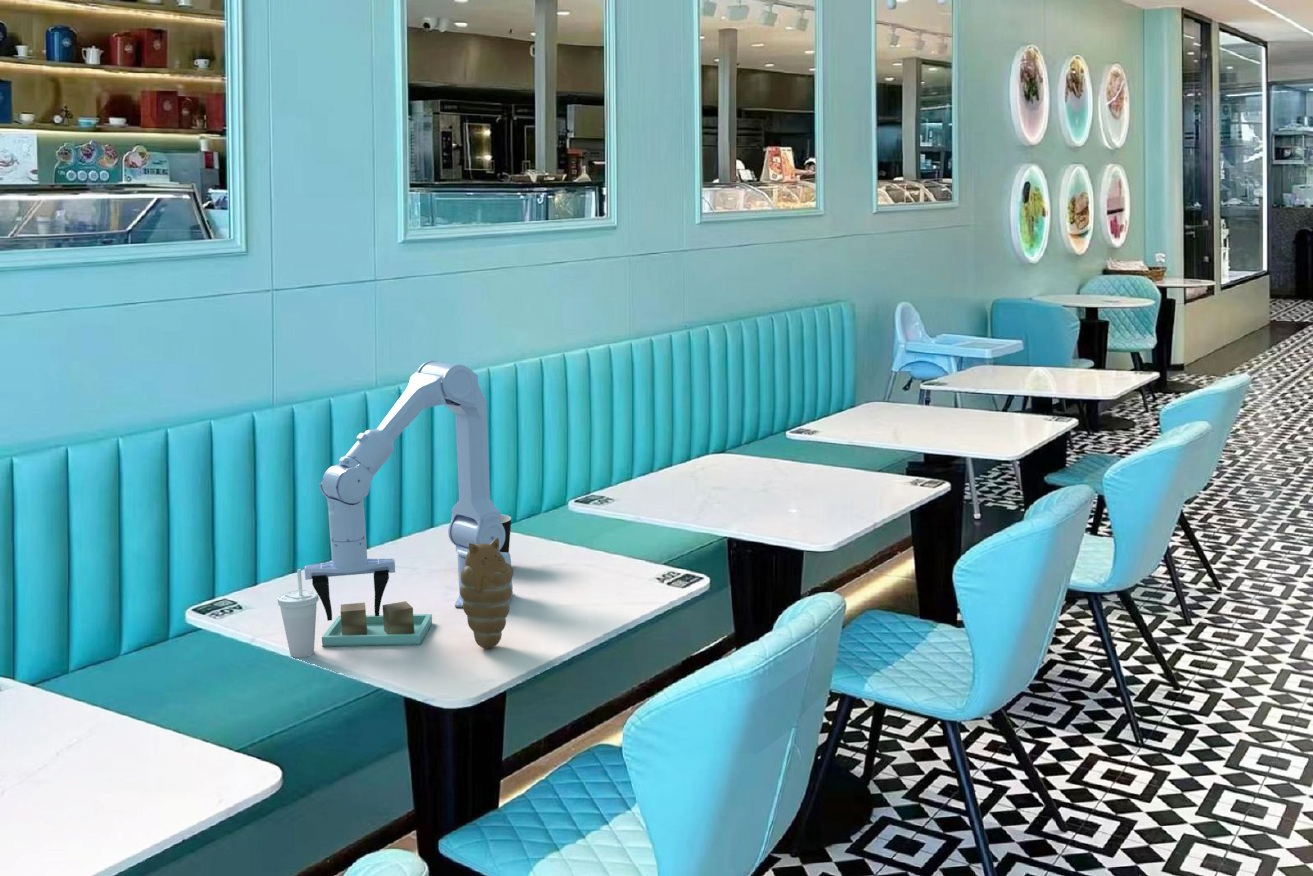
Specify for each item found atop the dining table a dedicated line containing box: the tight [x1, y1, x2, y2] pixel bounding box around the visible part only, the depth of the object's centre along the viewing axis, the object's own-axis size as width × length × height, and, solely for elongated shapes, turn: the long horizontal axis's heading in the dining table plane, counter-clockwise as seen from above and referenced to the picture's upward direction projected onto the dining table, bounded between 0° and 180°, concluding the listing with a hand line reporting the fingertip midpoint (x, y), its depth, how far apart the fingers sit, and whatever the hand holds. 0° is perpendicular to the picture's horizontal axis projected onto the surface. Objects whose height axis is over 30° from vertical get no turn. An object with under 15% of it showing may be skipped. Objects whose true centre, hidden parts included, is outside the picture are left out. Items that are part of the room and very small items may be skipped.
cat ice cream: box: [459, 538, 514, 649], centre depth 211 cm, size 9×8×18 cm
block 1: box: [340, 602, 367, 635], centre depth 220 cm, size 4×4×4 cm
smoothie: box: [276, 568, 320, 658], centre depth 210 cm, size 6×6×14 cm
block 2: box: [382, 600, 414, 635], centre depth 220 cm, size 4×4×4 cm
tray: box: [321, 613, 433, 648], centre depth 220 cm, size 16×11×2 cm
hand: (353, 616), depth 219 cm, fingers open, 7 cm apart
